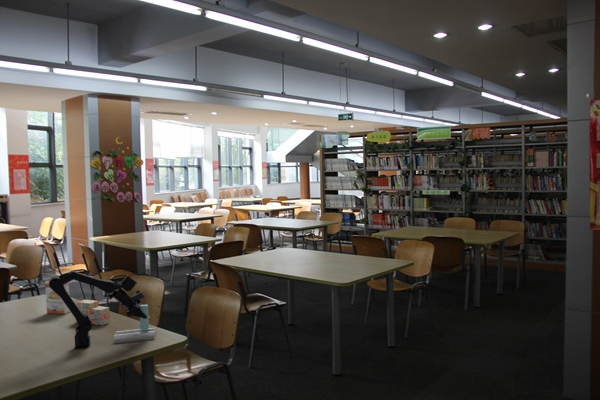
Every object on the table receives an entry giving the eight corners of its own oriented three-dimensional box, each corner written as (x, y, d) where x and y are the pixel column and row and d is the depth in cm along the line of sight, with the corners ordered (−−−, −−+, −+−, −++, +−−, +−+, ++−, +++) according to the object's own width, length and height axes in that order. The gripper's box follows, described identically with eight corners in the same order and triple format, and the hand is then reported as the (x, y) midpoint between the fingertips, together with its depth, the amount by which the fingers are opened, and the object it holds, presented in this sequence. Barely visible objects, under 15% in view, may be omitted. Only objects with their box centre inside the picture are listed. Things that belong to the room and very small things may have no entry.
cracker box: (46, 313, 315) (44, 281, 314) (53, 311, 321) (51, 279, 320) (64, 314, 311) (62, 282, 310) (71, 312, 317) (69, 279, 316)
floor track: (113, 343, 250) (113, 337, 250) (117, 336, 262) (116, 330, 262) (154, 339, 254) (153, 332, 254) (156, 332, 266) (155, 326, 266)
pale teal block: (140, 331, 257) (139, 306, 256) (141, 329, 260) (139, 305, 259) (150, 330, 258) (148, 305, 257) (150, 328, 261) (149, 304, 260)
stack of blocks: (110, 322, 289) (109, 302, 288) (101, 325, 283) (100, 304, 283) (86, 319, 299) (84, 299, 299) (77, 321, 294) (75, 301, 293)
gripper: (132, 290, 248) (156, 310, 251) (136, 283, 266) (158, 301, 269) (116, 307, 246) (140, 326, 249) (122, 298, 265) (144, 316, 268)
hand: (146, 317), depth 259 cm, fingers closed on pale teal block, 3 cm apart
